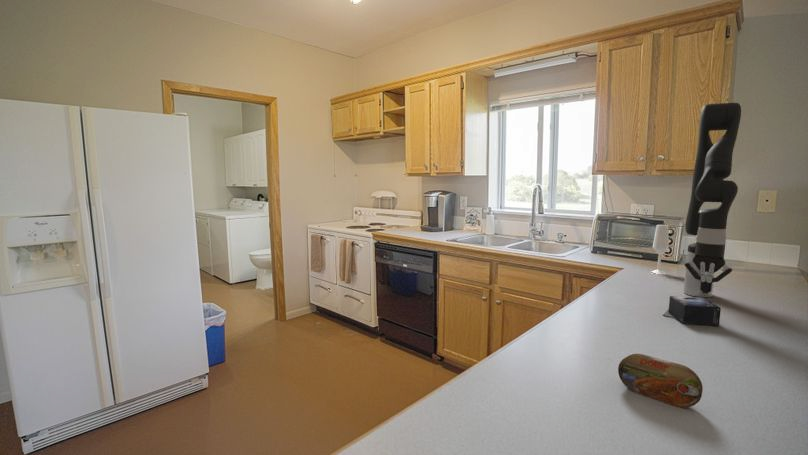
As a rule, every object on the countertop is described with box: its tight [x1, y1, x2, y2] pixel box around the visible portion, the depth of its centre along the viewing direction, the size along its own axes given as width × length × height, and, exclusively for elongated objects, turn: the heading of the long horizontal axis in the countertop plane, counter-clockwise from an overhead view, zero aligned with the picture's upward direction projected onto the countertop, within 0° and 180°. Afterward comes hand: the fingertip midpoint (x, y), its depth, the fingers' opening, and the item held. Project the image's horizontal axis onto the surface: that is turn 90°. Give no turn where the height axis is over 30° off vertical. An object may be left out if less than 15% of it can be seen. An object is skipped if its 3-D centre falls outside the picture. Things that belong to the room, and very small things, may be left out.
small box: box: [667, 295, 722, 327], centre depth 127 cm, size 11×6×10 cm
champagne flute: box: [651, 224, 670, 275], centre depth 190 cm, size 7×7×24 cm
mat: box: [662, 308, 676, 319], centre depth 133 cm, size 14×10×1 cm
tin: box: [617, 353, 704, 408], centre depth 82 cm, size 15×3×8 cm, turn 46°
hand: (705, 292), depth 128 cm, fingers closed
